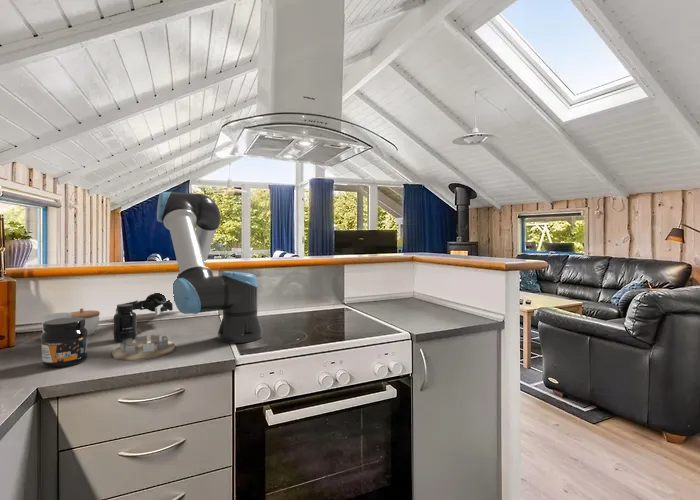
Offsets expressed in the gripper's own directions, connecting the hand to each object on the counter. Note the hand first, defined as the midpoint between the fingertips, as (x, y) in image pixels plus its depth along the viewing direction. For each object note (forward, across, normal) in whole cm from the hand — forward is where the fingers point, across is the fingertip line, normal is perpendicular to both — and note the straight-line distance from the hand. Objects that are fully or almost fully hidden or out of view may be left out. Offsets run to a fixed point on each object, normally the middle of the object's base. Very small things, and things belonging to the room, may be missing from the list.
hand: (136, 311), depth 140 cm
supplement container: (+32, +6, -8) cm, 34 cm away
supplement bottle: (+10, 0, -8) cm, 13 cm away
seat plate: (+24, -12, -7) cm, 28 cm away
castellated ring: (+24, -12, -7) cm, 28 cm away
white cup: (+14, +19, -8) cm, 25 cm away
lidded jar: (+1, +18, -8) cm, 20 cm away
